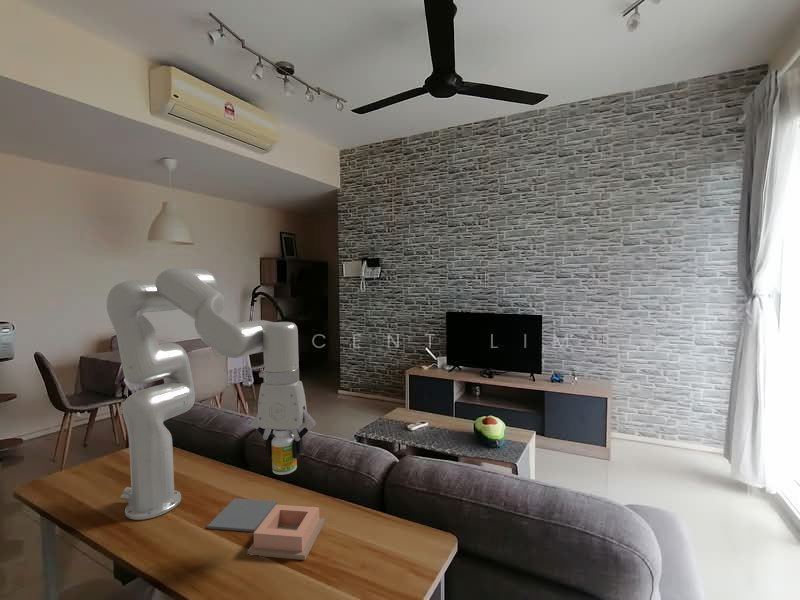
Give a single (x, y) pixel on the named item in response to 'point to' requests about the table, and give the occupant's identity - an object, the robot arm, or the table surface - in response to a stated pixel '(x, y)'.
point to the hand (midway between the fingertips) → (284, 454)
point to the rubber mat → (243, 515)
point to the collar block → (287, 532)
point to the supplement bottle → (283, 452)
